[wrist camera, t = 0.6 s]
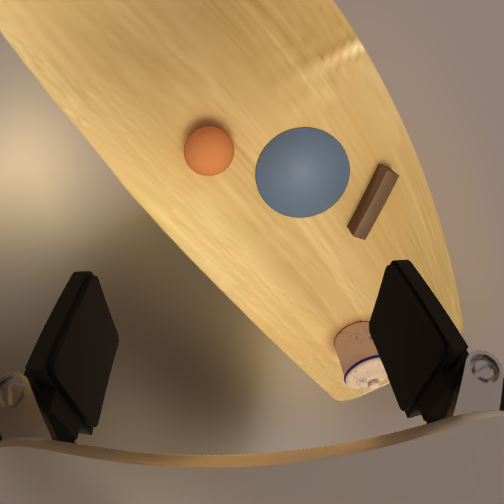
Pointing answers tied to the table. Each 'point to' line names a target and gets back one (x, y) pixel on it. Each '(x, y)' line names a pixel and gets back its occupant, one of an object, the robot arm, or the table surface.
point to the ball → (208, 151)
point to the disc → (302, 172)
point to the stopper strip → (372, 201)
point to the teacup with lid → (359, 357)
